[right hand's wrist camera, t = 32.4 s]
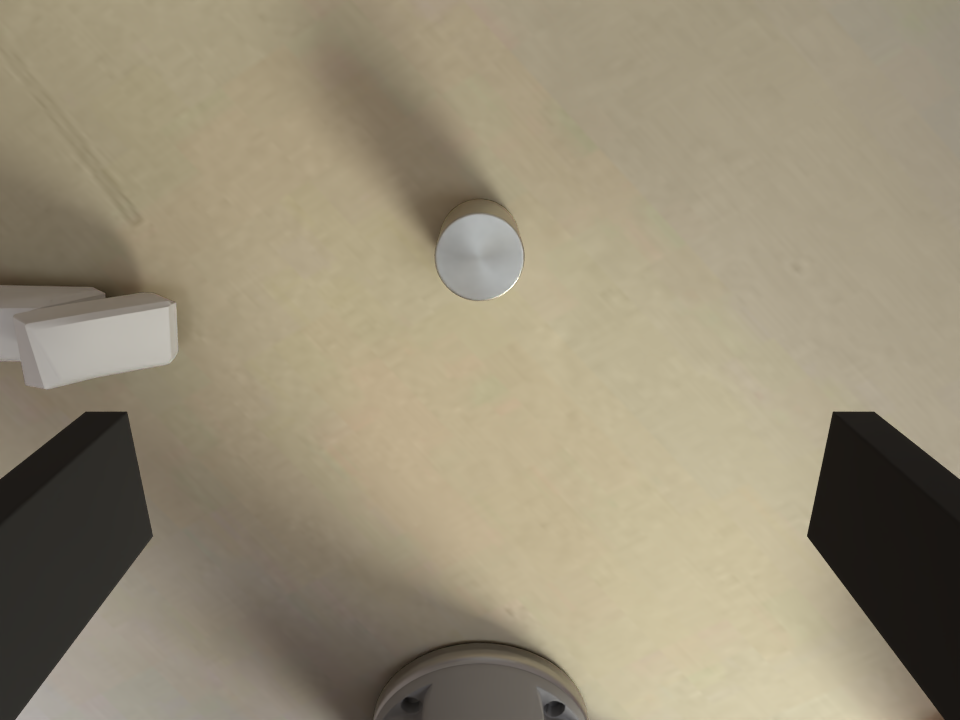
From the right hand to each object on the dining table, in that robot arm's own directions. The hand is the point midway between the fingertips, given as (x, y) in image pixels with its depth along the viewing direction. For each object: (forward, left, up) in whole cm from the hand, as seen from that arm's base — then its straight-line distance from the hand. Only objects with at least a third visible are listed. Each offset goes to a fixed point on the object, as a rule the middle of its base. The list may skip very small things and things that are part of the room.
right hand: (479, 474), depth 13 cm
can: (0, 0, -24) cm, 24 cm away
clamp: (+26, +5, -24) cm, 36 cm away
